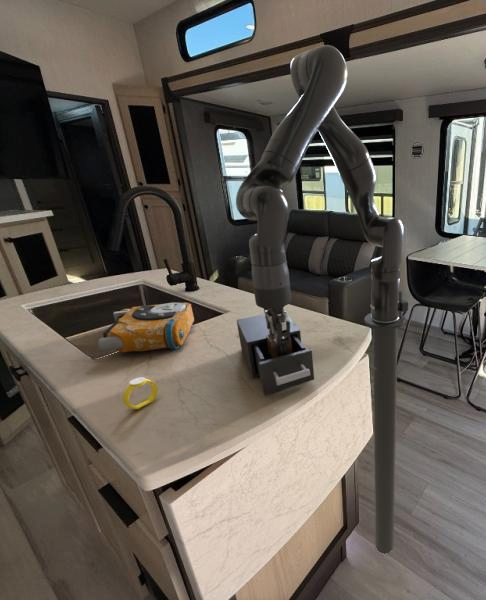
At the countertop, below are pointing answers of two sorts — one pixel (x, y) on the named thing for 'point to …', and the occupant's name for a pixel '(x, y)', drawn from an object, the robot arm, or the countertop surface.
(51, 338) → the countertop surface
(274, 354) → the block
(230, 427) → the countertop surface
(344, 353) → the countertop surface
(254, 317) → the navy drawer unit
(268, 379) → the open drawer cabinet
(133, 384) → the watch
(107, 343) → the device
